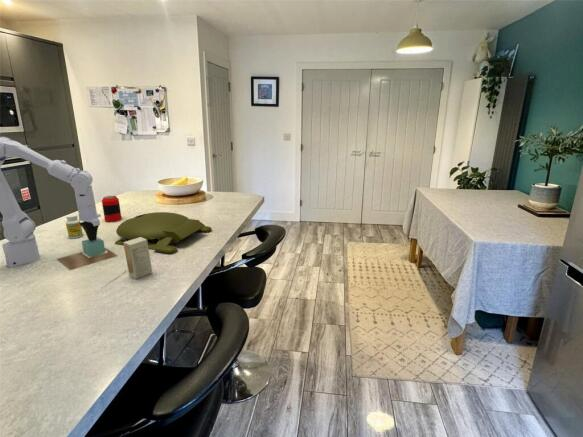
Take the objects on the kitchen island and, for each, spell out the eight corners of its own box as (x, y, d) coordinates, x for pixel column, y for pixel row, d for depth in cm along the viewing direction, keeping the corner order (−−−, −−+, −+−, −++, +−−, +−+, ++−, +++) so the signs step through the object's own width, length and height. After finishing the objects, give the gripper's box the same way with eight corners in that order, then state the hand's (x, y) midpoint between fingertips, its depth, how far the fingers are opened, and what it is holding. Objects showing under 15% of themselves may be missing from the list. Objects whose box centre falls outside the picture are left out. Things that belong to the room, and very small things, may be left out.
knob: (89, 256, 124) (87, 244, 123) (83, 252, 128) (81, 240, 126) (105, 252, 128) (103, 240, 127) (99, 248, 132) (97, 236, 130)
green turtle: (214, 230, 157) (212, 210, 154) (172, 256, 129) (169, 232, 126) (151, 223, 167) (149, 204, 164) (100, 245, 139) (96, 222, 136)
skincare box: (146, 269, 117) (141, 236, 114) (152, 272, 115) (148, 239, 111) (127, 275, 112) (122, 241, 109) (134, 279, 110) (129, 244, 106)
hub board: (70, 272, 114) (68, 261, 113) (57, 261, 123) (54, 250, 122) (118, 258, 126) (116, 247, 125) (103, 248, 135) (101, 238, 133)
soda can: (121, 221, 169) (117, 198, 165) (104, 223, 166) (100, 199, 163) (122, 217, 176) (118, 194, 172) (106, 218, 173) (102, 196, 169)
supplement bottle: (82, 233, 152) (78, 213, 149) (83, 237, 147) (79, 216, 145) (68, 235, 149) (64, 215, 146) (68, 239, 145) (64, 218, 142)
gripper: (106, 206, 121) (112, 241, 125) (90, 199, 130) (96, 232, 134) (84, 210, 116) (91, 247, 120) (69, 203, 125) (76, 237, 129)
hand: (92, 239), depth 127 cm, fingers closed
